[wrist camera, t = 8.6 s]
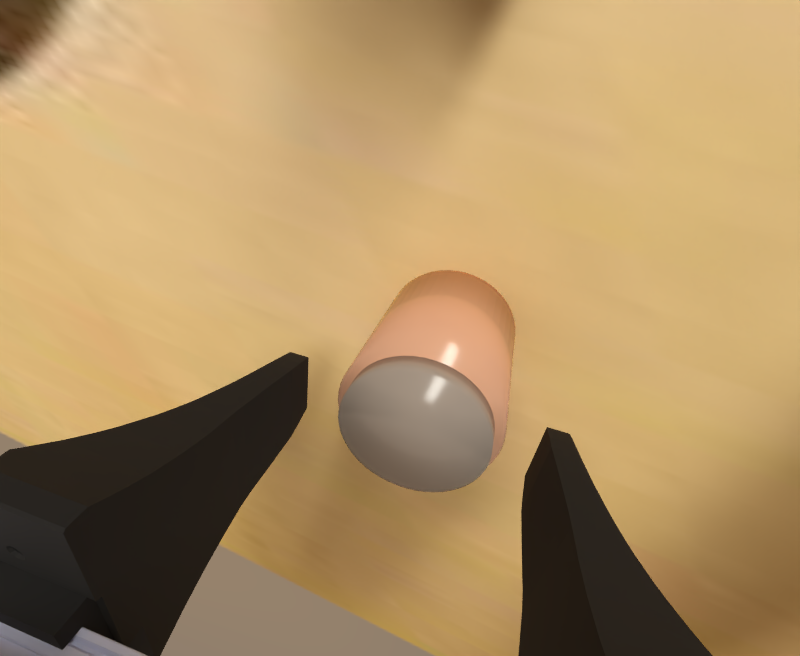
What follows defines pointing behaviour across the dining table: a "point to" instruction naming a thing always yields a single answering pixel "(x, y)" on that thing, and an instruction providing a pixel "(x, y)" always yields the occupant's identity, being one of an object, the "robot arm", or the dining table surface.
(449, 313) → the terracotta jar
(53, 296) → the dining table surface
